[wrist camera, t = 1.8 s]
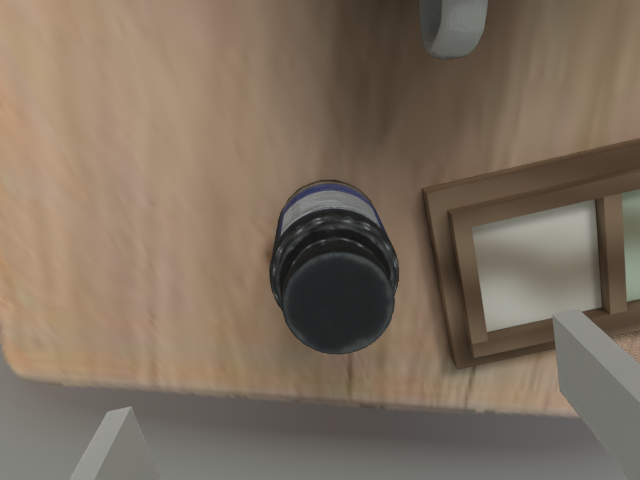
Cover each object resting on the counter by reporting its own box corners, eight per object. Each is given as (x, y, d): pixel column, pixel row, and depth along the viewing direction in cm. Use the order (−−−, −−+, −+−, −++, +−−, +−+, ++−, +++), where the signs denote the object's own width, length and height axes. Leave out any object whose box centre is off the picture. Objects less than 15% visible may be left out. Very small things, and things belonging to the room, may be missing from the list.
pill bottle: (358, 284, 33) (382, 386, 23) (265, 257, 33) (246, 350, 22) (392, 194, 32) (434, 260, 21) (294, 163, 31) (288, 216, 20)
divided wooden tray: (422, 188, 32) (430, 197, 29) (763, 109, 31) (797, 113, 28) (452, 359, 35) (461, 378, 33) (756, 294, 34) (785, 309, 32)
